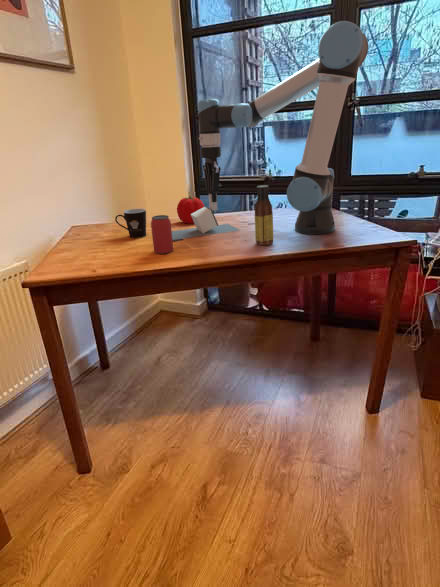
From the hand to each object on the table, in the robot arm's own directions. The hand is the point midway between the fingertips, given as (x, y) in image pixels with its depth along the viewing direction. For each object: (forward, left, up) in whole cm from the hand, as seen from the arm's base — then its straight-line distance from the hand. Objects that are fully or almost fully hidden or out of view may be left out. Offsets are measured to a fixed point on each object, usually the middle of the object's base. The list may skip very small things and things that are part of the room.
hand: (213, 210), depth 150 cm
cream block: (0, +1, -2) cm, 2 cm away
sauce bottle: (-26, -9, -9) cm, 29 cm away
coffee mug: (+10, +30, -9) cm, 33 cm away
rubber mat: (0, +5, -8) cm, 10 cm away
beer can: (-17, +25, -9) cm, 32 cm away
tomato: (+19, +3, -9) cm, 21 cm away
